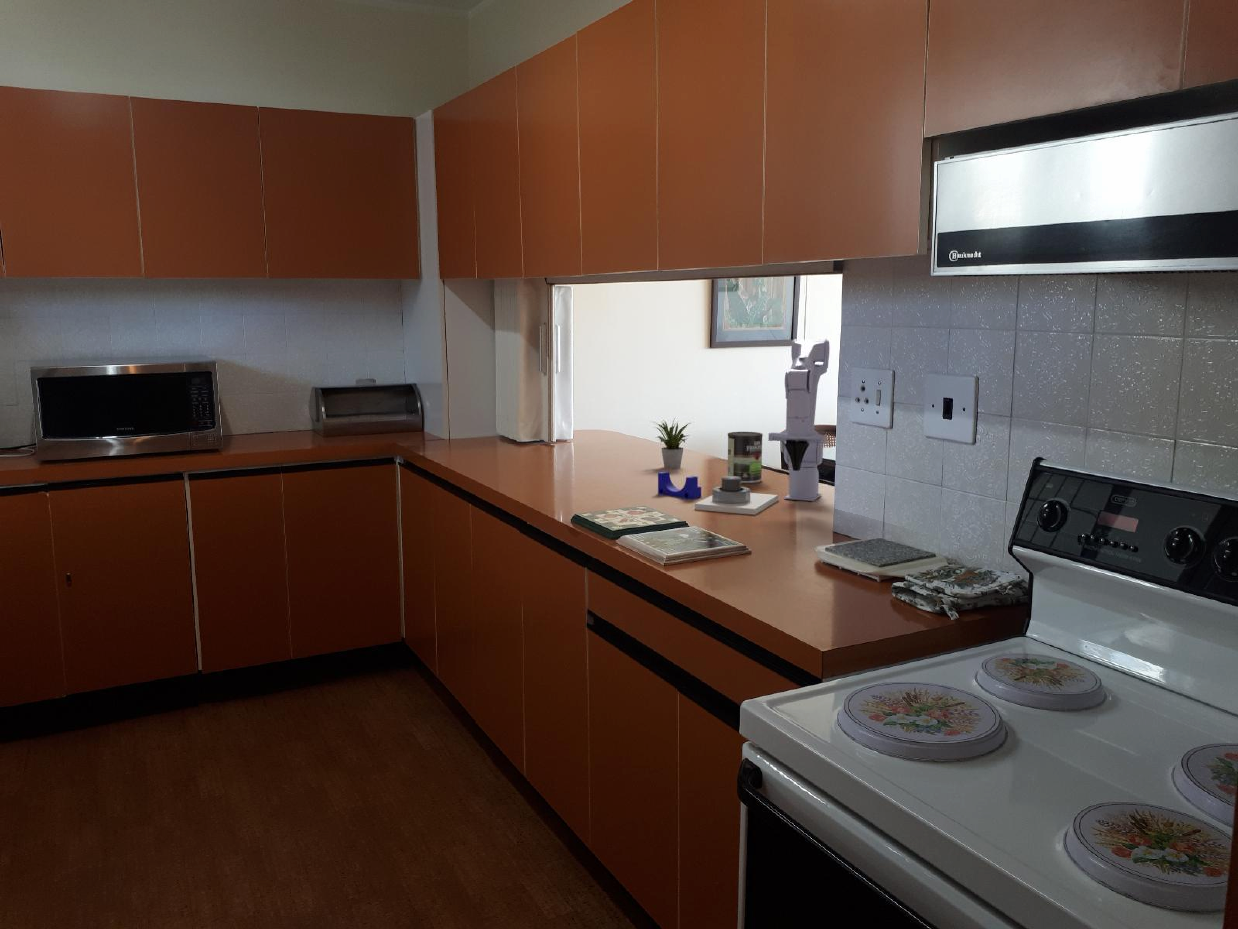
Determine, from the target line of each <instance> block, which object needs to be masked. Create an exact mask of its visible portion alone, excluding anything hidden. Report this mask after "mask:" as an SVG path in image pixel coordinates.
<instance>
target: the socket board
mask: <svg viewBox="0 0 1238 929" xmlns="http://www.w3.org/2000/svg"><path fill="white" fill-rule="evenodd" d="M721 487H722V485H721V486H720V485H719V486H716V487H714V488H712V493H711V495H710V496H707V497H705V498H703V499H702V500H699V501H698V502H696V503H694V510H696V511H709V512H718V513H719V512H720V513H727V514H728V513H730V514H742V515H753V516H756V515H758V514H759V513H761V512H762V511H763V510H765V509H767V508H769V507H771V505H774V504H775V503H777V502H778V501H779V494H768V493H758V492H757V493H755V492H751V488H748V487H746V486H741V491H733V492H731V491H721Z"/></svg>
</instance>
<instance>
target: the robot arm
mask: <svg viewBox="0 0 1238 929" xmlns="http://www.w3.org/2000/svg"><path fill="white" fill-rule="evenodd" d="M829 358H830V341H829V340H828V339H827V338H825V339H797V338H794V339H793V340H792V342H791V363H792V364H791V367H790V368H789V370H788V371H785V374H784V389H785V390H784V391H785V399H786V415H785V417H786V418H785V421H786V422H785V432H769V433H768V439H767V440H768V441H770V442H774V441H775V442H784V449H783V458H784V459H783V460H784V462H785V464H787V465H788V466H789V477H788V480H789V481H788V488H789V489H788V494H787V495H786V496H784V499H785V500H796V501H805V502H806V501H808V502H813V501H816V500H818V499H819V498H820V497H821V496H822V495H823V494H822V493H819V482H820V481H819V479H820V474H819V472H820V471H819V469H818V466H819V465H821V463H822V462H823V459H824V458H823V457H824V445H825V444H827V438H828V437H827V434H826V435H825V434H822V435H821V434H820V433H819V432H818V431H816V430H815V418H816V408H817V397H818V395H817V394H818V386H819V382H820V379H821V376H822V375H824V374H826V373H827V371H828V369H829Z"/></svg>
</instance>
